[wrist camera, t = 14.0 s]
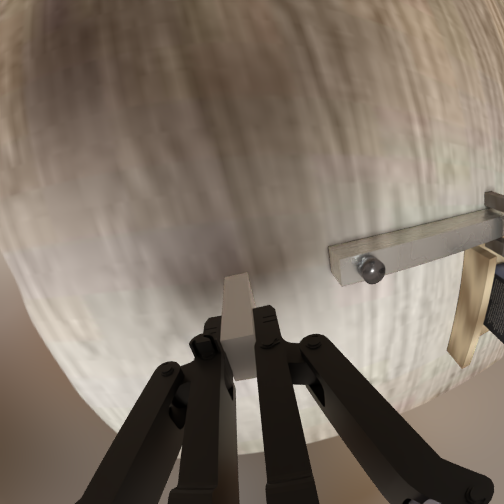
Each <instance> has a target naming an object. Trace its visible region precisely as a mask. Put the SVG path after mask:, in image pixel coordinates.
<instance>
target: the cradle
mask: <svg viewBox="0 0 504 504" xmlns="http://www.w3.org/2000/svg"><path fill="white" fill-rule="evenodd" d="M485 206H488V207H491V208H493V209H496V210H498V211H501V212H503V213H504V195H501V194H498V193H495V192H492V191H491V192H486V193H485ZM500 263H504V236H503V237H500V238H498V239H495V240H492V241H490V242H487V243H484V244H481V245H478V246H476V247H473V248H470V249H467V250H465V255H464V264H463V273H462V280H461V287H460V293H459V299H458V304H457V310H456V315H455V319H454V324H453V328H452V332H451V337H450V341H449V344H448V348H447V351H448V352H449V354H450V355H451V356H452V357H453V358H454V360H455V361H456V362H457V363H458V365H459V366H460V367H461V368H462V369H463V368H465V367H466V366H468V365H470V362H471V360H472V357H473V354H474V351H475V348H476V345H477V342H478V339H479V336H481V335H482V334H484V333H486V332H487V331H489V330H488V329H487V328H486V327H485V326H484V325H483V322H484V319H485V315H486V311H487V307H488V303H489V298H490V294H491V289H492V284H493V279H494V274H495V268H496V264H500Z"/></svg>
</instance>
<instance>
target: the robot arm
mask: <svg viewBox="0 0 504 504" xmlns="http://www.w3.org/2000/svg"><path fill="white" fill-rule="evenodd" d="M189 345H190V348H191V350H192V352H193V354H194V357H195V358H194V361H192V362H190V363H188V364H186V365H183V366H180V365H179V364H178V363H177V362H173V361H171V362H165V363H163V364H161V365H160V366H158V367H157V369H156V370H155V372H154V373H153V375H152V376H151V378H150V380H149V381H148V383H147V385H146V386H145V388H144V390H143V392H142V393H141V395H140V397H139V398H138V400H137V402H136V403H135V405H134V407H133V408H132V410H131V412H130V413H129V415H128V417H127V419H126V420H125V422H124V424H123V425H122V427H121V429H120V431H119V432H118V434H117V436H116V437H115V439H114V441H113V443H112V445H111V446H110V448H109V450H108V451H107V453H106V455H105V457H104V458H103V460H102V462H101V464H100V465H99V467H98V469H97V471H96V473H95V474H94V476H93V478H92V480H91V482H90V483H89V485H88V487H87V489H86V491H85V492H84V494H83V496H82V498H81V499H80V500H79V501H77V502H76V503H75V504H158V502H159V500H160V497H161V495H162V492H163V490H164V487H165V485H166V483H167V481H168V478H169V476H170V473H171V471H172V468H173V466H174V464H175V461H176V459H177V456H178V454H179V451H180V449H181V447H182V452H181V461H180V470H179V479H178V485H177V487H176V488H174V489H172V490H171V491H170V493H169V497H168V504H239V482H238V456H237V424H236V388H235V385H234V383H233V376H234V379H235V381H239V380H245V379H251V378H256V377H257V382H258V393H259V403H260V413H261V423H262V433H263V443H264V453H265V463H266V473H267V484H266V501H267V504H319V500H318V496H317V491H316V486H315V481H314V477H313V474H312V469H311V465H310V460H309V455H308V451H307V446H306V442H305V437H304V433H303V428H302V424H301V419H300V415H299V410H298V406H297V401H296V397H295V393H294V388H293V384H296V385H306V388H307V389H308V390H309V392H310V393H311V395H312V396H313V398H314V399H315V401H316V402H317V404H318V405H319V407H320V408H321V410H322V411H323V412H324V414H325V415H326V417H327V418H328V420H329V421H330V423H331V424H332V425H333V427H334V428H335V430H336V431H337V433H338V434H339V436H340V437H341V438H342V440H343V441H344V443H345V444H346V445H347V447H348V448H349V449H350V451H351V452H352V454H353V455H354V457H355V458H356V459H357V461H358V462H359V464H360V465H361V466H362V468H363V469H364V471H365V472H366V473H367V475H368V476H369V477H370V479H371V480H372V481H373V483H374V484H375V485H376V487H377V488H378V490H379V491H380V492H381V493H382V495H383V496H384V497H385V498H386V500H387V501H388V502H389V503H390V504H488V503H489V502H490V501H491V499H492V496H493V493H494V484H493V482H492V480H491V479H490V478H488V477H487V476H485V475H482V474H479V473H477V472H474V471H471V470H469V469H466V468H464V467H461V466H459V465H456V464H453V463H451V462H449V461H447V460H444V459H442V458H440V456H439V455H438V454H437V453H436V452H435V451H434V450H433V449H432V448H431V447H430V446H429V445H428V444H427V443H426V442H425V441H424V440H423V439H422V437H421V436H420V435H419V434H418V433H417V432H416V431H415V430H414V429H413V428H412V427H411V426H410V425H409V424H408V423H407V422H406V421H405V420H404V418H403V417H402V416H401V415H400V414H399V413H398V412H397V411H396V410H395V409H394V408H393V407H392V406H391V405H390V404H389V403H388V402H387V401H386V399H385V398H384V397H383V396H382V395H381V394H380V393H379V392H378V391H377V390H376V389H375V388H374V387H373V386H372V385H371V384H370V383H369V381H368V380H367V379H366V378H365V377H364V376H363V375H362V374H361V373H360V372H359V371H358V370H357V369H356V368H355V367H354V366H353V365H352V363H351V362H350V361H349V360H348V359H347V358H346V357H345V356H344V355H343V354H342V353H341V352H340V351H339V350H338V349H337V348H336V346H335V345H334V344H333V343H332V342H331V341H330V340H329V339H328V338H327V337H325V336H324V335H321V334H312V335H308V336H306V337H305V338H303V339H302V340H301V341H300V343H290V342H287V341H285V340H284V339H283V338H282V336H281V333H280V329H279V324H278V320H277V316H276V312H275V309H274V308H273V307H272V306H271V305H267V306H263V307H258V308H256V305H255V301H254V297H253V293H252V289H251V285H250V281H249V277H248V273H242V274H237V275H233V276H228V277H225V279H224V292H223V306H222V316H217V317H211V318H208V320H207V321H206V323H205V325H204V331H203V334H200V335H197V336H196V337H194V338H193V339H192V340H191V341H190V343H189Z"/></svg>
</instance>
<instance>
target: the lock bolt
mask: <svg viewBox="0 0 504 504" xmlns="http://www.w3.org/2000/svg"><path fill="white" fill-rule="evenodd" d="M503 236H504V213H503V212H501V211H498V210H496V209H493V208H488V209H484V210H480V211H476V212H472V213H468V214H464V215H460V216H456V217H452V218H448V219H444V220H440V221H435V222H431V223H427V224H423V225H419V226H415V227H411V228H406V229H402V230H398V231H394V232H389V233H385V234H381V235H377V236H372V237H368V238H364V239H360V240H355V241H351V242H347V243H342V244H338V245H333V246H329V247H328V248H329V256H330V265H331V272H332V274H333V275H334V276H335V278H336V279H337V281H338V282H339V284H340V285H341V286H342V287H343V286H347V285H351V284H355V283H359V282H362V281H366V282H367V283H368V284H376V283H378V282H379V281H381V280H382V278H383V277H384V275H387V274H391V273H394V272H398V271H401V270H405V269H408V268H411V267H415V266H418V265H421V264H424V263H427V262H431V261H434V260H437V259H440V258H443V257H446V256H449V255H452V254H455V253H458V252H461V251H464V250H467V249H470V248H473V247H476V246H478V245H481V244H484V243H487V242H490V241H492V240H495V239H498V238H500V237H503Z"/></svg>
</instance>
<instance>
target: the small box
mask: <svg viewBox="0 0 504 504" xmlns="http://www.w3.org/2000/svg"><path fill="white" fill-rule="evenodd" d="M483 325H484V326H485V327H486V328H487V329H488V330H490V331H491V332H492V333H493V334H494V335H495V336H496V337H497V338H498V339H499V340H500V341H501V342H502V343H503V344H504V263H500V264H496V268H495V274H494V279H493V284H492V289H491V294H490V298H489V303H488V307H487V311H486V315H485V319H484V322H483Z"/></svg>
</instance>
